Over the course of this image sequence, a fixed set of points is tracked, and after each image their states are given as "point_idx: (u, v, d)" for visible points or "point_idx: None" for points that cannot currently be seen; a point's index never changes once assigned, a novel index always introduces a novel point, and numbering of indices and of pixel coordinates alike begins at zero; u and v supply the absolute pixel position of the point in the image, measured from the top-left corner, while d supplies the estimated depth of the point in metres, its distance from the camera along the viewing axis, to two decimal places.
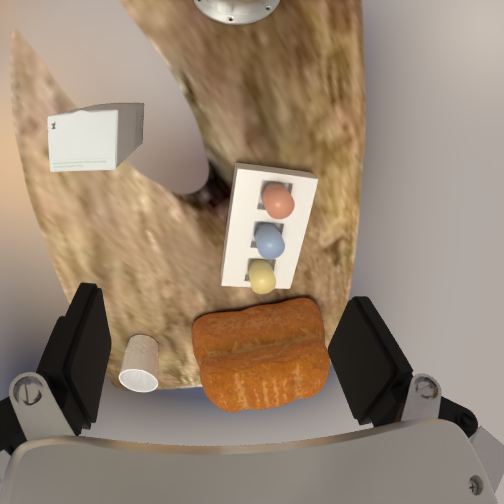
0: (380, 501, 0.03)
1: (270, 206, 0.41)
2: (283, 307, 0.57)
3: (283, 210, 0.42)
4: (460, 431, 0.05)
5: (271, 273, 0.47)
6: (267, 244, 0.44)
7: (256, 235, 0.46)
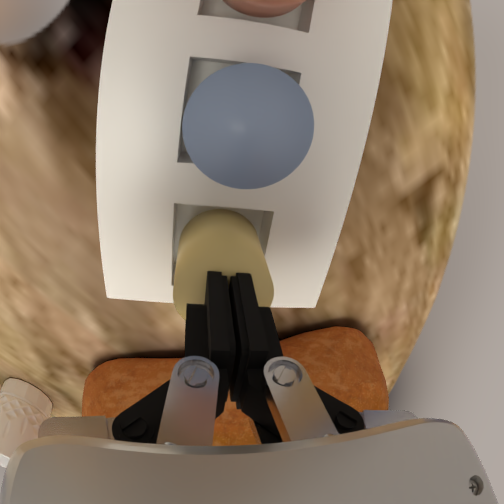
0: (380, 501, 0.03)
1: None
2: (292, 355, 0.21)
3: None
4: (460, 431, 0.05)
5: (254, 256, 0.12)
6: (228, 109, 0.08)
7: None
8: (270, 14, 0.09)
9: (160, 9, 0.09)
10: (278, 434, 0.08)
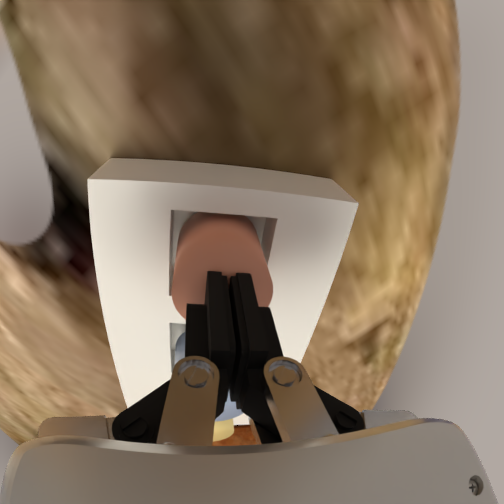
0: (380, 501, 0.03)
1: (187, 298, 0.12)
2: None
3: None
4: (460, 431, 0.05)
5: None
6: None
7: (175, 361, 0.16)
8: None
9: (138, 290, 0.14)
10: (278, 434, 0.08)
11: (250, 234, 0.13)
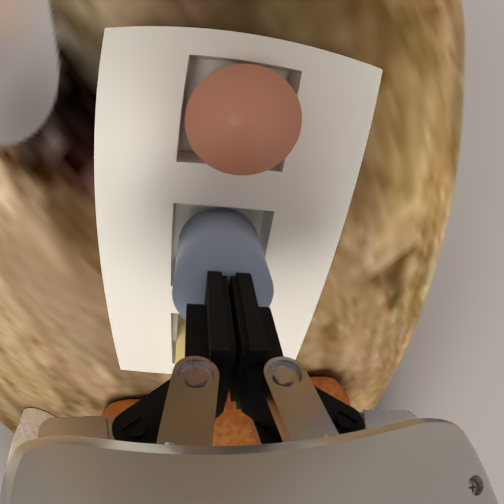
0: (380, 501, 0.03)
1: (203, 122, 0.09)
2: None
3: (256, 140, 0.10)
4: (460, 431, 0.05)
5: None
6: None
7: (178, 249, 0.13)
8: None
9: (141, 155, 0.12)
10: (278, 434, 0.08)
11: None
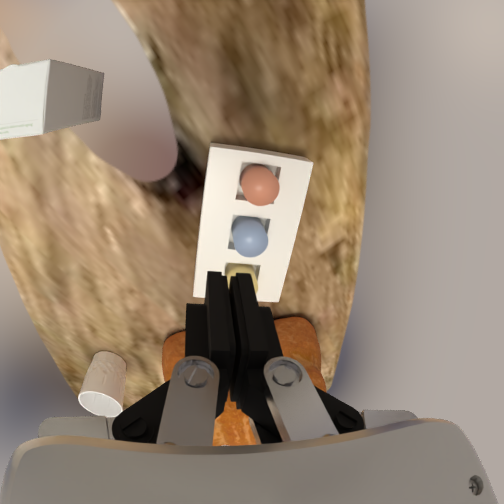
0: (380, 501, 0.03)
1: (248, 189, 0.33)
2: None
3: (265, 195, 0.33)
4: (460, 431, 0.05)
5: (252, 275, 0.38)
6: (245, 238, 0.35)
7: (233, 228, 0.37)
8: None
9: (222, 196, 0.35)
10: (278, 434, 0.08)
11: (270, 171, 0.34)
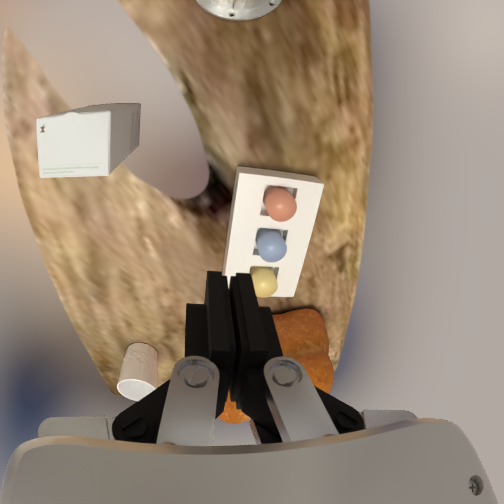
0: (380, 501, 0.03)
1: (272, 208, 0.40)
2: (287, 318, 0.55)
3: (285, 213, 0.41)
4: (460, 431, 0.05)
5: (272, 276, 0.46)
6: (268, 247, 0.43)
7: (257, 238, 0.45)
8: None
9: (249, 213, 0.43)
10: (278, 434, 0.08)
11: (289, 192, 0.42)
